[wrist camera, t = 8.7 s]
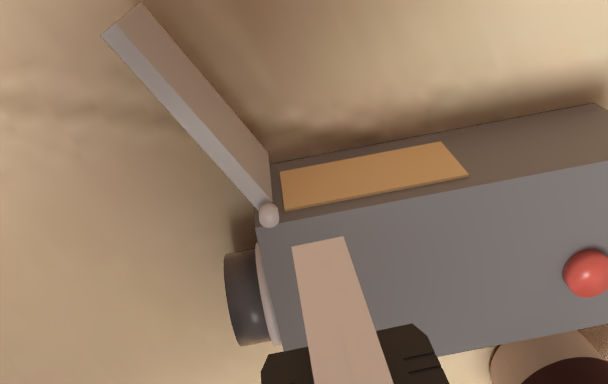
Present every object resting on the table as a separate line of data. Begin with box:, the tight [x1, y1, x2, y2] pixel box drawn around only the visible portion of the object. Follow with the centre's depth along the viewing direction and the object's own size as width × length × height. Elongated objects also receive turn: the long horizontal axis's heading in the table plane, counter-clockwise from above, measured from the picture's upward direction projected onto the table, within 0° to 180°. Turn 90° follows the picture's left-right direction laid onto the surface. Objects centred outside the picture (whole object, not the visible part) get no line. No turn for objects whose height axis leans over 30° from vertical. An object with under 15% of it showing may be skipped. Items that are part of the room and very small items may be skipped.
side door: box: [100, 2, 273, 211], centre depth 27 cm, size 10×1×6 cm, turn 36°
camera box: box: [224, 103, 608, 357], centre depth 31 cm, size 22×11×8 cm, turn 99°
